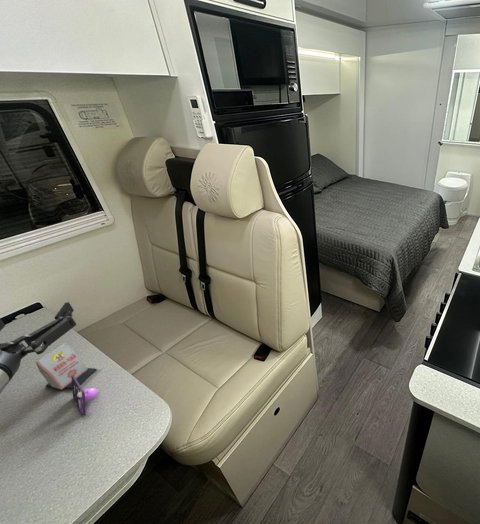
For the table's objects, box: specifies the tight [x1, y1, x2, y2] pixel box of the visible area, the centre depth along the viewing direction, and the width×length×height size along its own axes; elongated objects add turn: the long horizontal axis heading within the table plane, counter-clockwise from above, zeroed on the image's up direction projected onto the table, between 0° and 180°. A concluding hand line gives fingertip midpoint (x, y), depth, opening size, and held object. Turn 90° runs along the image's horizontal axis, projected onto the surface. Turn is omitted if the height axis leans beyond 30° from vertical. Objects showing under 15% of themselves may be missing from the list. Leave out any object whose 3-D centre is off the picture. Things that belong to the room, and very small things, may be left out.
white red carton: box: [34, 342, 88, 390], centre depth 76 cm, size 4×7×10 cm, turn 165°
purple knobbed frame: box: [71, 375, 100, 417], centre depth 72 cm, size 7×5×9 cm
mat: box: [45, 367, 98, 390], centre depth 79 cm, size 9×6×1 cm
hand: (36, 313), depth 72 cm, fingers open, 13 cm apart
